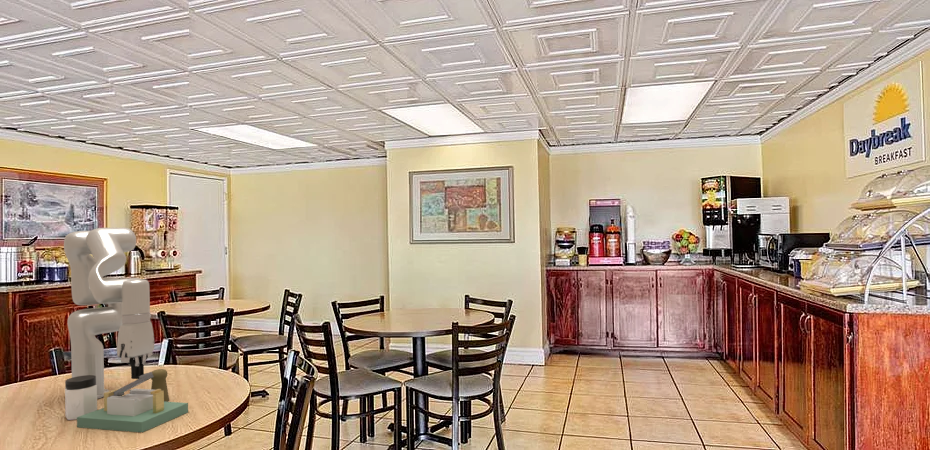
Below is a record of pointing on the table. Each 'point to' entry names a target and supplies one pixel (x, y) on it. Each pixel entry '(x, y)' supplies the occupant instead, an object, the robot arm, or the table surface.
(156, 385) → the cork
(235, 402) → the table surface
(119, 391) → the strap
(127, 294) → the robot arm
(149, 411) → the board
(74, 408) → the jar
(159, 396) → the lug
